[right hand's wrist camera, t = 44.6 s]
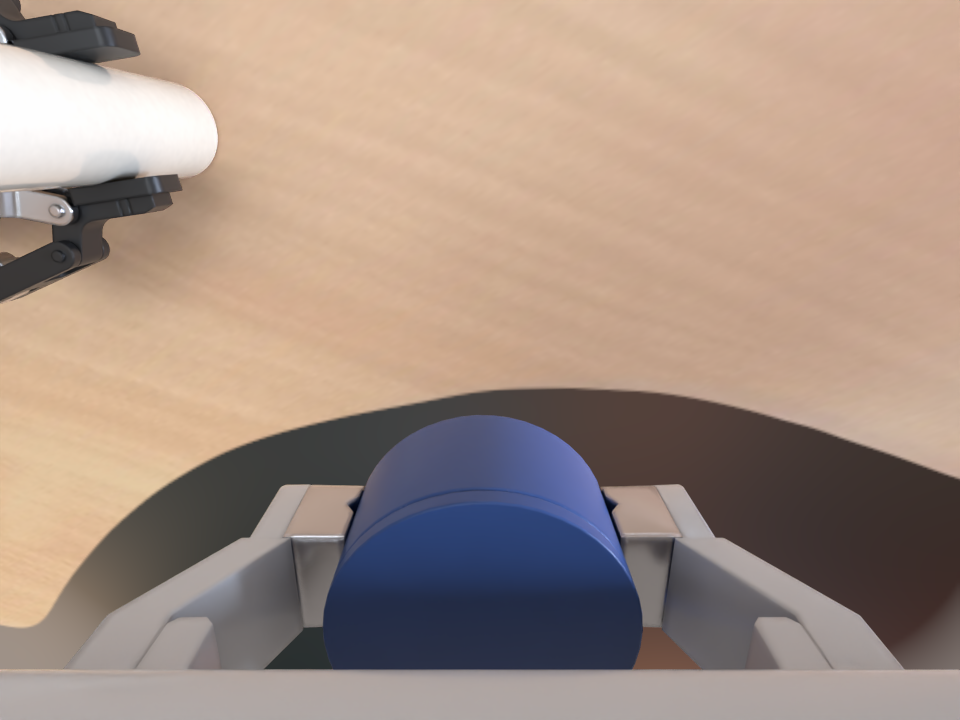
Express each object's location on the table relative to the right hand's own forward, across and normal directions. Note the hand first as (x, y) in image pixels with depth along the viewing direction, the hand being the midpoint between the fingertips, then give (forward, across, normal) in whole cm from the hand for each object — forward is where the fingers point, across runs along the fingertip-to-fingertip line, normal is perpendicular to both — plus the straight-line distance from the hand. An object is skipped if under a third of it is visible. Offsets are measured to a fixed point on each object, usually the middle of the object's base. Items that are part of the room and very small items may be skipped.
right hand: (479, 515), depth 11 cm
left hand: (+16, +14, -8) cm, 22 cm away
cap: (0, 0, 0) cm, 0 cm away
